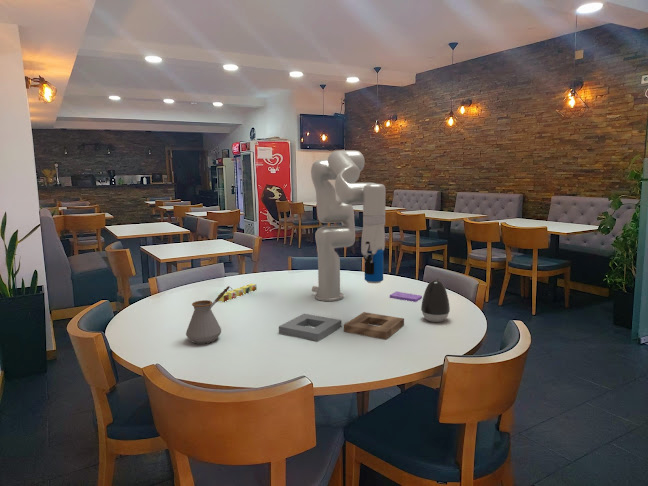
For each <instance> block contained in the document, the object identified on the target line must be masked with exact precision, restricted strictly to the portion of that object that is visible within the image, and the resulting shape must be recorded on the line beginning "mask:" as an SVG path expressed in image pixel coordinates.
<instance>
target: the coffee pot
mask: <svg viewBox="0 0 648 486" xmlns="http://www.w3.org/2000/svg"><path fill="white" fill-rule="evenodd" d="M230 289H231V290H230ZM228 291H233V288H232V287H231V286H229V285H227V286H226V288H224V289H223V291H221V292H220V293H219V294H220V295H219V294H218V295H219V296H218V295H217V297H216V298H215V299H214V301H213V302H212V301H211V300H206V299H205V300H197V301H193V302H192V303H191V306H193V312H192V316H191V319H190V321H189V323H188V326H187V328H186V329H187V330H186V332H185V336H186V337H187V339H188V340H189V341H190V342H192V341H193V342H194V344H195V343H201V344H200V345H206V344H205V343H207V344H210V342H211V343H213V342H215V341H216V340H217V338H218V337H220V335H221V333H222V328H221V326H220V324H219V322H218V320H217V319H216V316H215V314H214V312H213V311H212V308H213V307H214V305H215V304H216V303H218V302H219V301H218V300H219V299H220V298H221V297H222V296H223V295H224V294H226V292H228ZM193 342H192V343H193Z"/></svg>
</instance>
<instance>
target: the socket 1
mask: <svg viewBox="0 0 648 486" xmlns="http://www.w3.org/2000/svg"><path fill="white" fill-rule="evenodd" d="M342 322H343V321H342V320H341V319H337V318H332V317H325V316H320V315H315V314H314V315H313V314H309V313H302V314H301V315H298V316H297V317H294V318H293V319H290V320H288V321H287V322H285V323H282V324H281V325H279V326H278V334H281V335H285V336H290V337H295V338H299V339H306V340H308V341H309V340H310V341H315V342H320V341H321V340H323V339H324V338H326V337H327V336H329V335H331V334H332V333H334V332H335V331H337V330H339V329H340V328H342V324H343V323H342ZM309 326H310V327H309Z"/></svg>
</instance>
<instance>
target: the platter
mask: <svg viewBox="0 0 648 486" xmlns="http://www.w3.org/2000/svg"><path fill="white" fill-rule="evenodd" d="M255 290H256V291H257V290H258V288H257V283H248V284H246V285H243V286H240V287H239V288H238V287H237V288H234V289H232V291H231V290H230V291H229V290H227V292H225V294H224V295H223V296H222V297H221V298H220V299H219V300H218V301H217V302H219V301H222V302H221V303H226V302H228V301H227V300H229V301H230V300H234V299H237V298H238V297H237V296H240V297H242V296H244V295H247V294H246V293H248V294H249V292H250V293H251V291H253V292H256V291H255ZM243 293H244V294H243ZM219 295H220V293H219V294H217V297H218V296H219ZM241 295H242V296H241ZM236 297H237V298H236ZM233 298H234V299H233ZM225 301H226V302H225Z"/></svg>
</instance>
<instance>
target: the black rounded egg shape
mask: <svg viewBox="0 0 648 486" xmlns="http://www.w3.org/2000/svg"><path fill="white" fill-rule="evenodd" d="M446 289H447V288H446V286H445V285H444V283H443V282H442V281H441V280H439V278H436V279H433V280H431V281H429V283H428V284H427V285H426V288H425V290H424V294H423V295H422V300H421V307H420V309H421V310H420V311H421V312H422V315H423V317H424V318H425V319H426V320H427V321H429V322H432V323H441V322H444V321H445V320H446V319H447V318H448V316H449V314H450V311H451V309H450V307H451V306H450V300H449V297H448V292H447V290H446Z"/></svg>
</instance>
